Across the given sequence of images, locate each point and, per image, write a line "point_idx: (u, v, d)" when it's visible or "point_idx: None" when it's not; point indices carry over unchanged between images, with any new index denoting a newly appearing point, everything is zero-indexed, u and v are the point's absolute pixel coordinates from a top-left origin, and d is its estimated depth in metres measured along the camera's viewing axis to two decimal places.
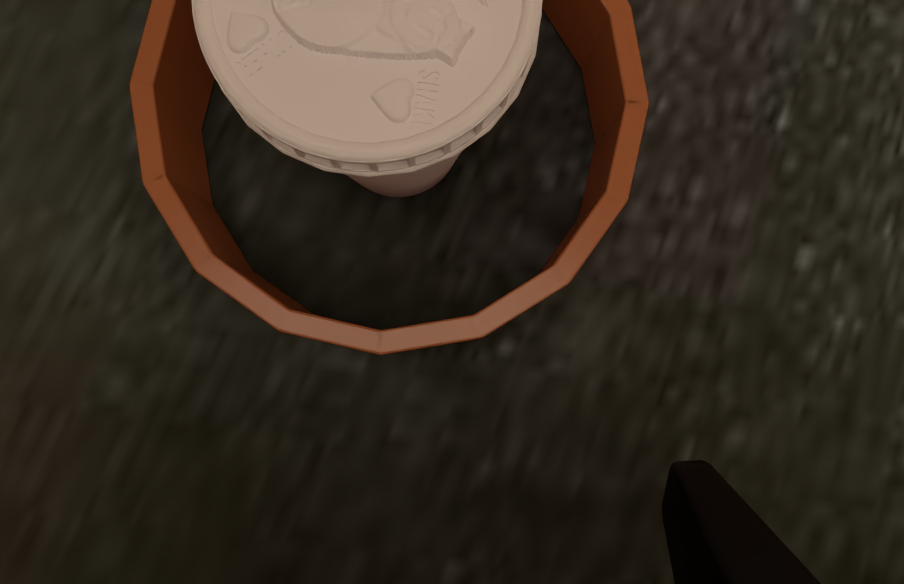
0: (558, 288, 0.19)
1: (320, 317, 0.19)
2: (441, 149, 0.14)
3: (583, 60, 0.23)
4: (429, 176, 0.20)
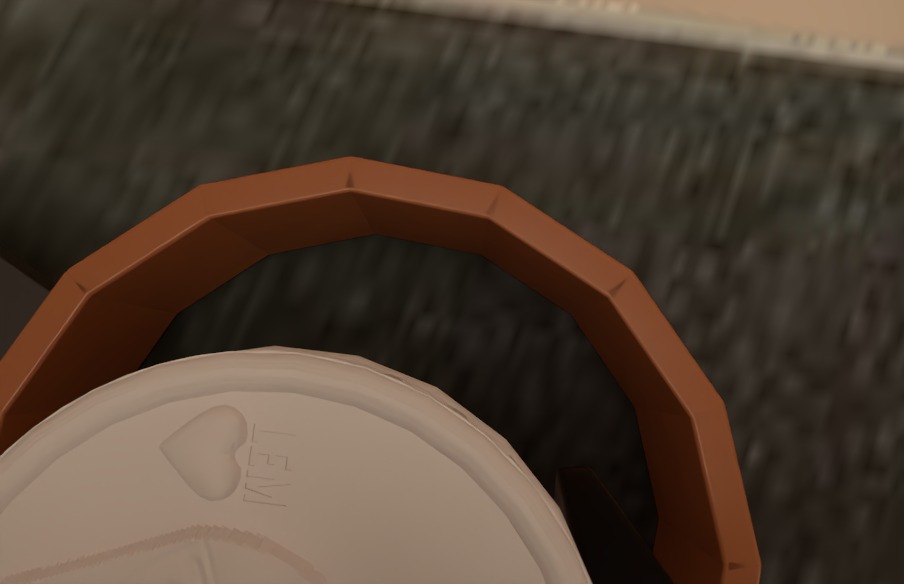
0: None
1: None
2: None
3: (639, 405, 0.16)
4: None
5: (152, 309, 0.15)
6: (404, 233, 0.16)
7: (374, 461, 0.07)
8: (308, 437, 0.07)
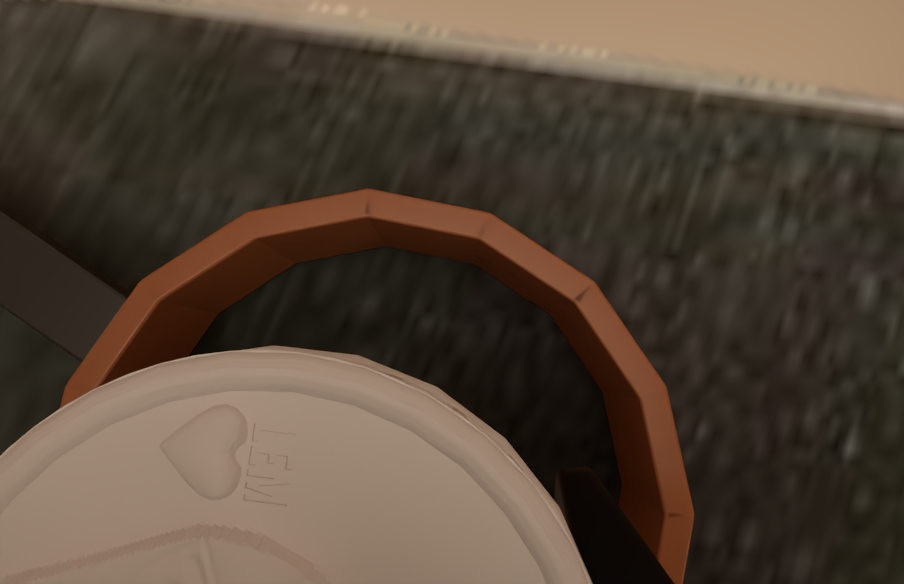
0: None
1: None
2: None
3: (605, 389, 0.19)
4: None
5: (200, 310, 0.18)
6: (410, 246, 0.19)
7: (374, 459, 0.07)
8: (309, 437, 0.07)
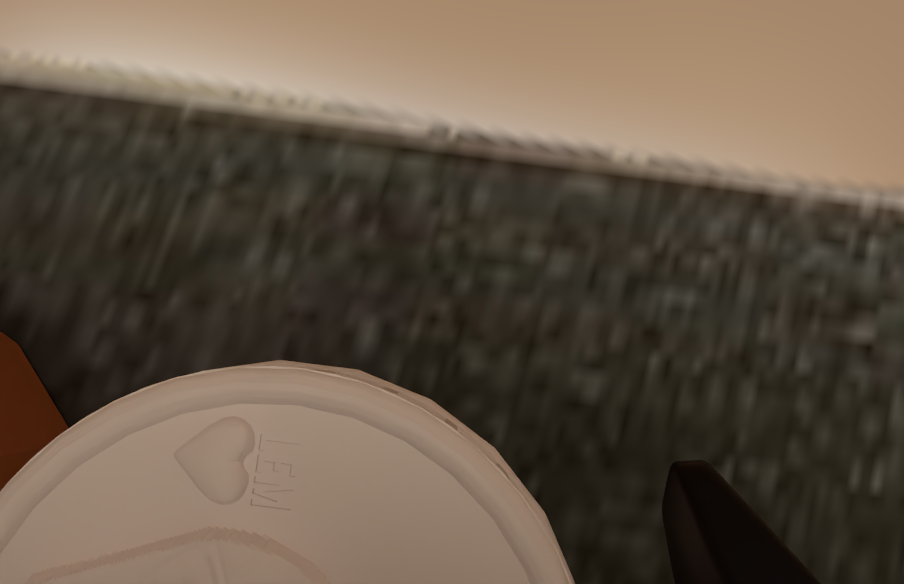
0: None
1: None
2: None
3: None
4: None
5: None
6: None
7: (373, 468, 0.07)
8: (311, 446, 0.07)
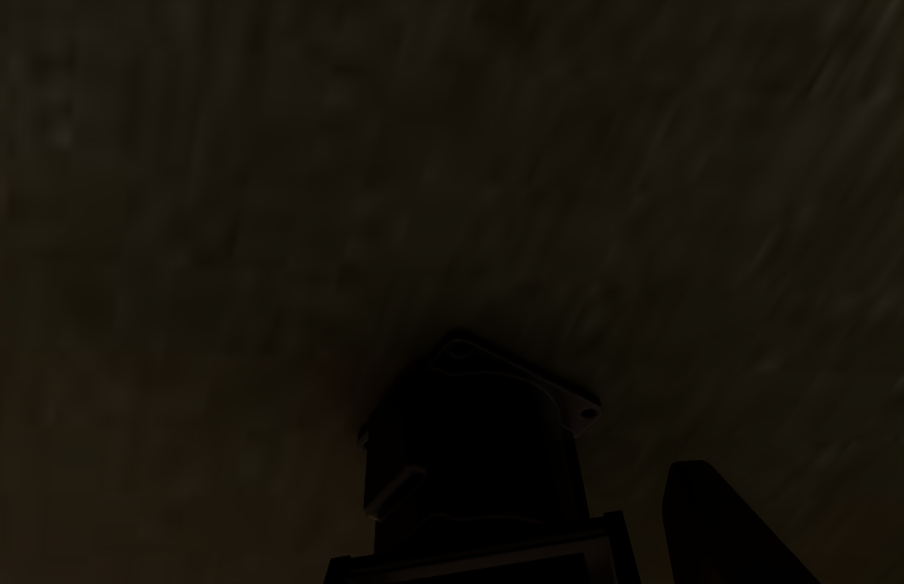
0: None
1: None
2: None
3: None
4: None
5: None
6: None
7: None
8: None
